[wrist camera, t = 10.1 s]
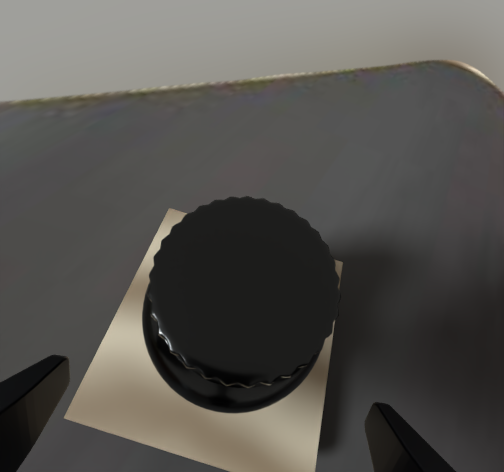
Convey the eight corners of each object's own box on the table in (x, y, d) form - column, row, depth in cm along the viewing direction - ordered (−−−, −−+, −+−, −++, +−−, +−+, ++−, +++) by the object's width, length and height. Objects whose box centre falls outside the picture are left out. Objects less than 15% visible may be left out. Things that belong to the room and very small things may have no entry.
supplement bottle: (258, 265, 19) (315, 147, 9) (295, 363, 17) (443, 368, 6) (162, 296, 17) (81, 193, 7) (189, 409, 15) (130, 535, 4)
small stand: (293, 472, 17) (311, 497, 14) (91, 407, 17) (63, 418, 14) (325, 275, 23) (342, 262, 20) (175, 228, 24) (169, 208, 20)
